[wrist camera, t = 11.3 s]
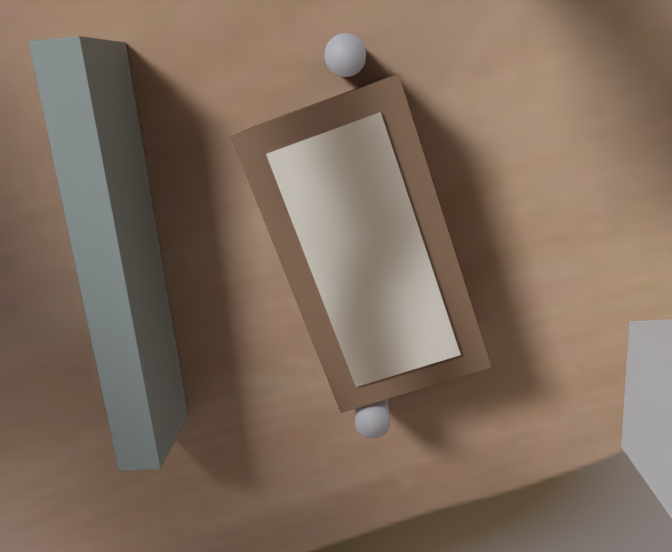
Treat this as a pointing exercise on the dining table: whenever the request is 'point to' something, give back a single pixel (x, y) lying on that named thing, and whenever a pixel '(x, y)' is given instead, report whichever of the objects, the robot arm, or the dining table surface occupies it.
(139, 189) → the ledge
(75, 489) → the dining table surface
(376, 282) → the frame
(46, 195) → the dining table surface
